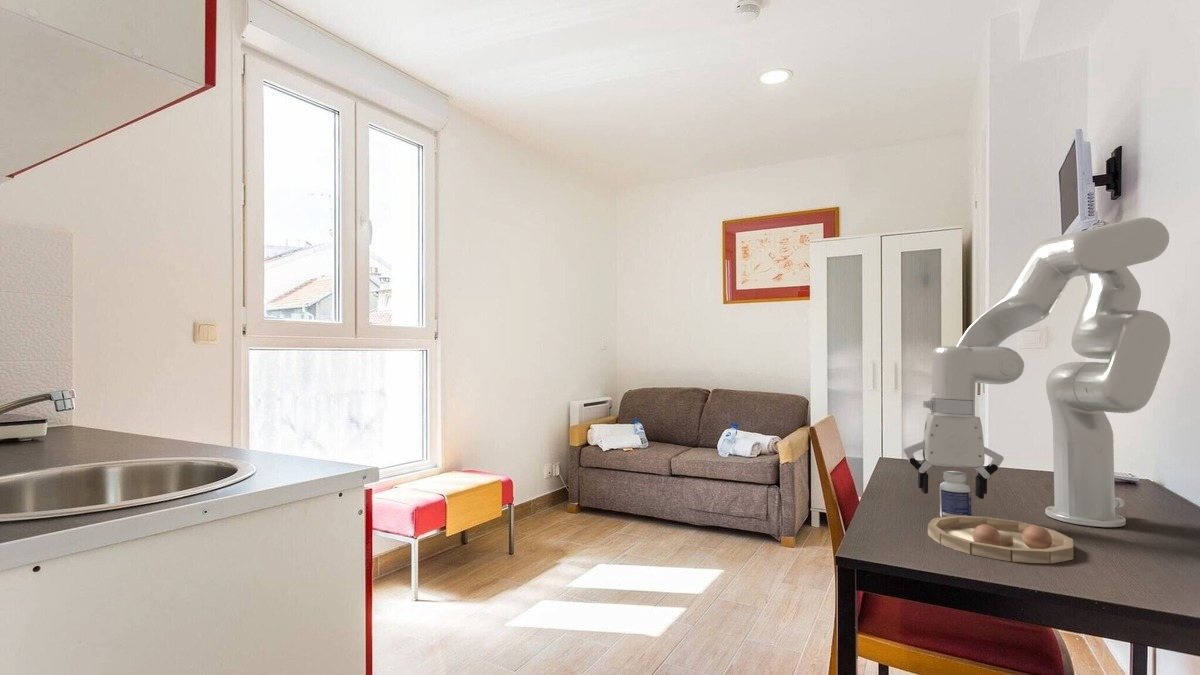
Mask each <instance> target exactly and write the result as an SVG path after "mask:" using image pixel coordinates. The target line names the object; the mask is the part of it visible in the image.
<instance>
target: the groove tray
mask: <svg viewBox="0 0 1200 675" xmlns="http://www.w3.org/2000/svg"><path fill="white" fill-rule="evenodd" d="M983 524H986V525H990V526H992V527H994V528H995V529H997V530H998V532H999V533H1000V535H1001V543H1000V545H999V546H997V545H991V544H984V543H978V542H974V540H973V536H972V534H973V530H974V529H975V528H976V527H977V526H979V525H983ZM1032 525H1034V524H1033V523H1029V522H1024V521H1019V520H1014V519H1013V520H1012V519H1007V518H1005V519H1004V518H998V517H990V516H980V515H975V516H974V515H972V516H958V515H955V516H954V515H953V516H946V517H941V516H939V517H934V518H932V519H931V520H930V522H928V524H927V535H928V537H930V538H931V539H932V540H933V541H935V542H936V543H938V544H939V545H941V546H943V547H944V546H945V547H947V548H949V549H952V550H955V551H958V552H962V553H965V554H968V555H972V556H977V557H983V558H987V559H992V560H999V561H1005V562H1010V563H1011V562H1012V563H1025V564H1027V563H1028V564H1057V563H1061V562H1062V563H1063V562H1065V561H1070V560H1074V539H1073V538H1071V537H1069V536H1067V535H1066V534H1063V533H1061V532H1059V531H1057V530H1054V529H1052V528H1048V527H1044V526H1042V527H1043V528H1045V529H1046V530H1047V531H1048V532H1049V533H1050V535H1051V537H1052V544H1051V546H1050V547H1049V548H1047V549H1031V548H1029V547H1028V546H1027V545H1026V544H1025V543H1024V541H1023V539H1022V533H1023V531H1024V529H1025V528H1027V527H1029V526H1032Z"/></svg>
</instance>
